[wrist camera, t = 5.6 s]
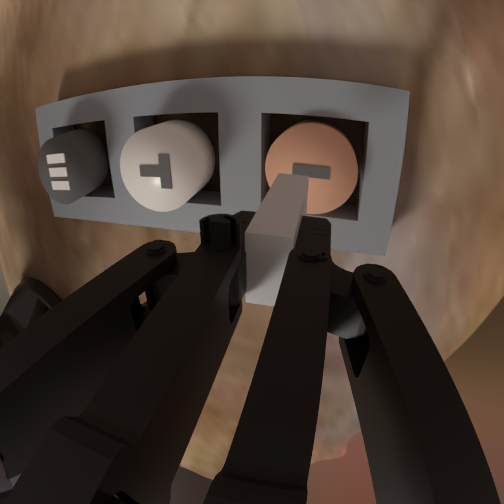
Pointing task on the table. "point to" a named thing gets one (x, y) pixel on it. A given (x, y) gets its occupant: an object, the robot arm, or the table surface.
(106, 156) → the button black
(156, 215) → the panel
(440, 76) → the table surface
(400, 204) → the table surface
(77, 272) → the table surface
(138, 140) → the button white
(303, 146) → the button terracotta
